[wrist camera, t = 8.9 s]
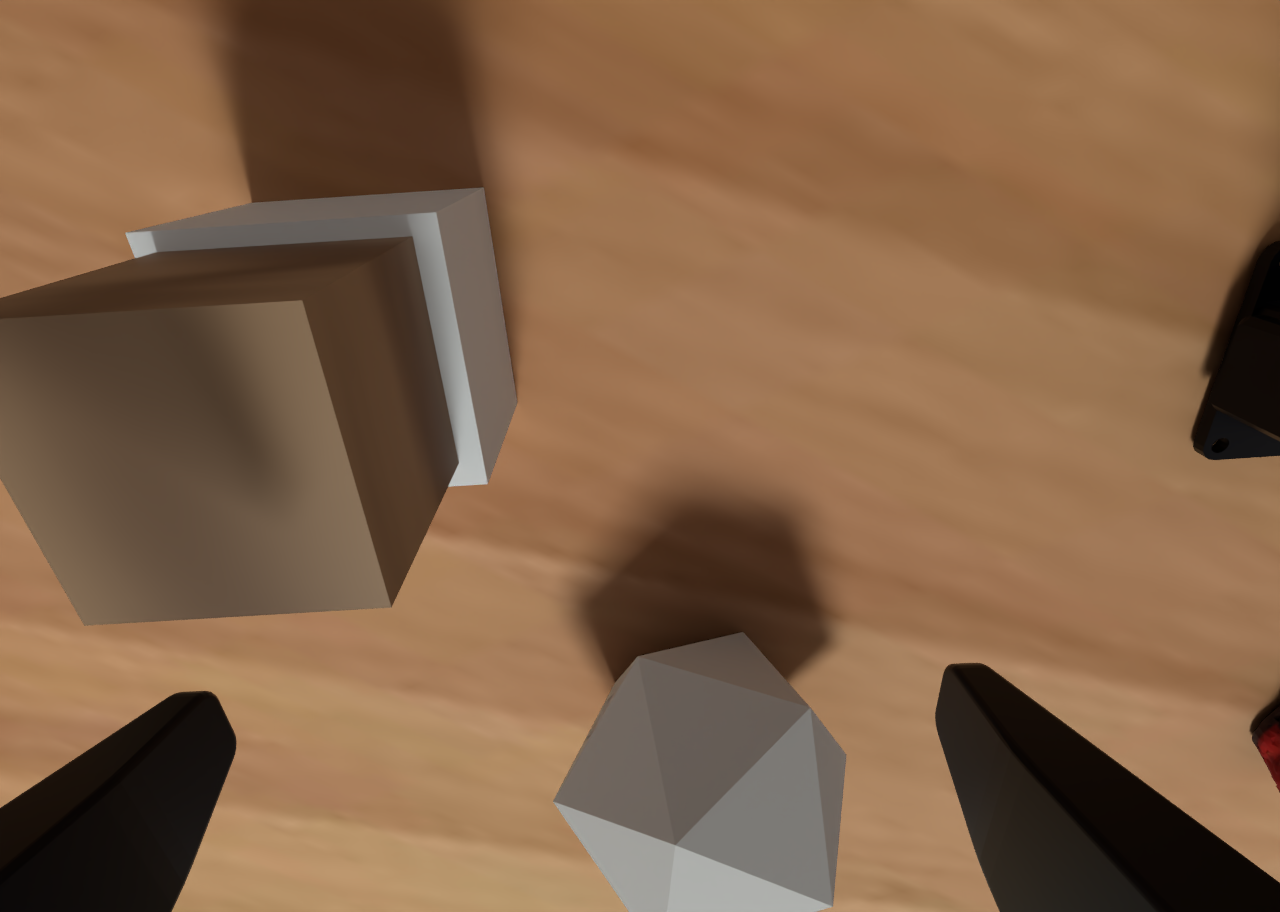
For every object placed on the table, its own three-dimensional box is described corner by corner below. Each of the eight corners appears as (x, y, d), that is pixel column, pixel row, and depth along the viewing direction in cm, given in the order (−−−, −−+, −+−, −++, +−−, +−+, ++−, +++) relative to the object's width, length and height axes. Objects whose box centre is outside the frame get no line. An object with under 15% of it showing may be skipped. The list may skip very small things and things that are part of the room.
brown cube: (412, 236, 13) (301, 300, 8) (459, 462, 15) (391, 607, 11) (156, 252, 13) (-88, 324, 8) (241, 476, 15) (84, 625, 11)
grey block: (484, 187, 17) (436, 212, 13) (517, 401, 20) (488, 484, 15) (254, 202, 17) (124, 232, 13) (319, 414, 20) (231, 500, 15)
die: (587, 565, 23) (462, 885, 19) (844, 598, 19) (767, 1038, 14) (678, 653, 29) (601, 913, 25) (890, 695, 25) (846, 1025, 20)
